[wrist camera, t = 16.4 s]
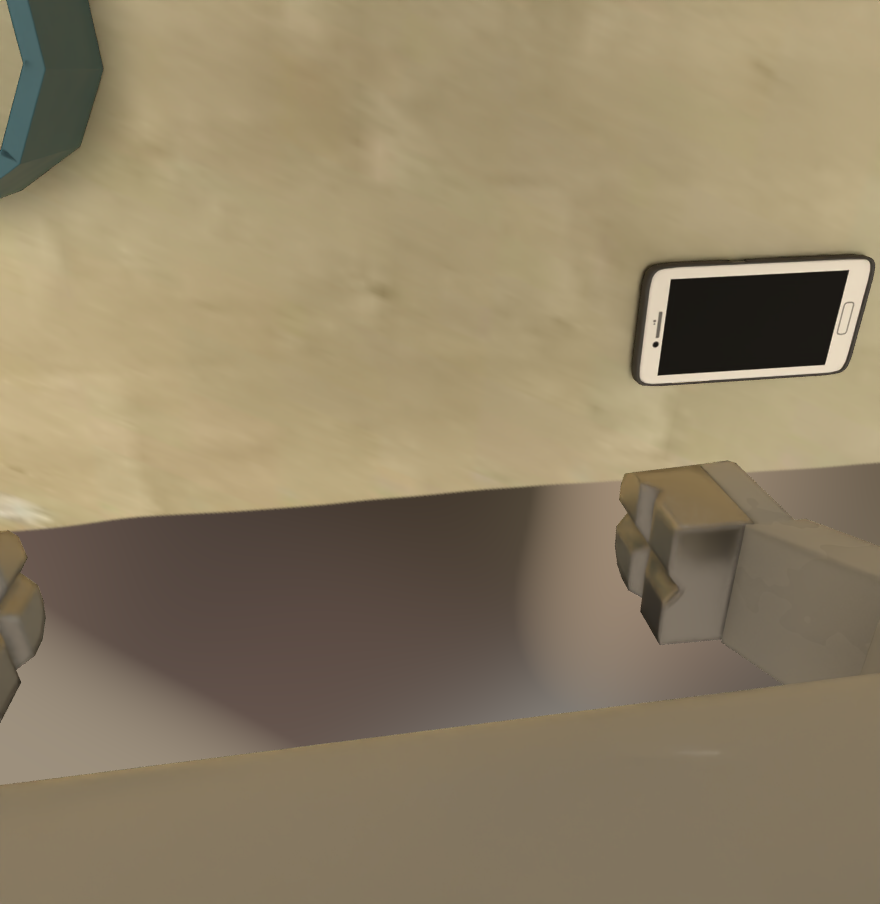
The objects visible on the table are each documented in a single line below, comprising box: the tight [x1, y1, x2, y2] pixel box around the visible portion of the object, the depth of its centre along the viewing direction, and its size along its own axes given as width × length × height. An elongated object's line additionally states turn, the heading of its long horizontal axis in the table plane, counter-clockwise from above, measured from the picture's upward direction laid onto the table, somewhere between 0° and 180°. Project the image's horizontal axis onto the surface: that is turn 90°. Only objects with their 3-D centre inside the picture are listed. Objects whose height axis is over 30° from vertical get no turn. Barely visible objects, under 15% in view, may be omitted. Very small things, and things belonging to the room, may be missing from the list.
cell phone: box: [632, 254, 875, 386], centre depth 45 cm, size 8×15×1 cm, turn 91°
